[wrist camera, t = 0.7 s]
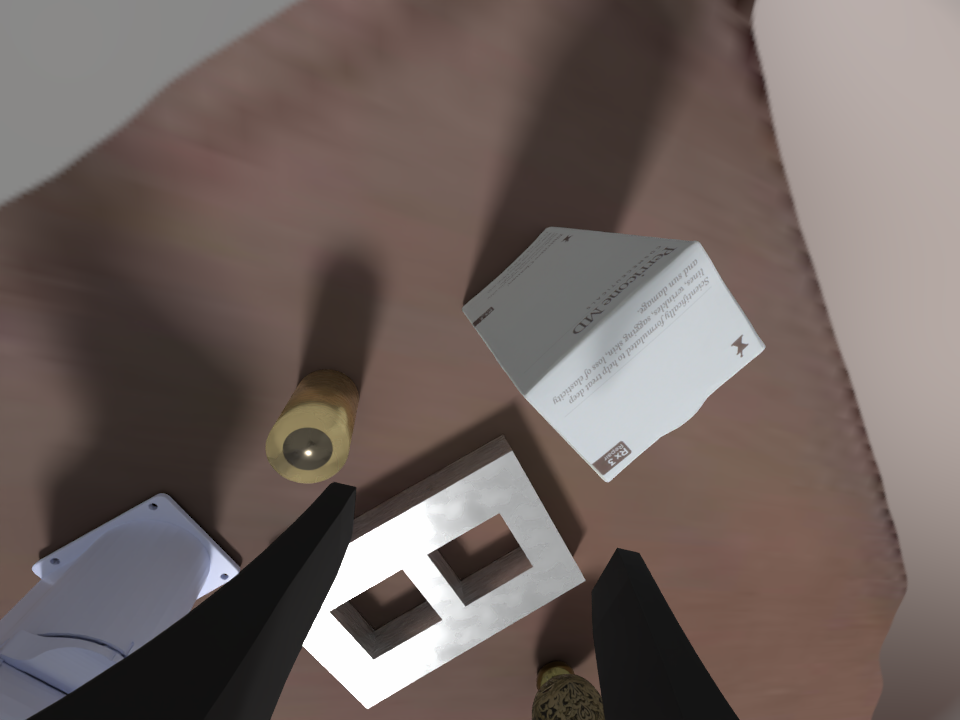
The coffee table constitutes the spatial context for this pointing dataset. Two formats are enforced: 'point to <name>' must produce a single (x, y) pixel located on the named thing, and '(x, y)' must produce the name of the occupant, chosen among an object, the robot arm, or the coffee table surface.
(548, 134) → the coffee table surface
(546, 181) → the coffee table surface
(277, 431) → the brass sleeve
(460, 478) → the jig plate
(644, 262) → the skincare box
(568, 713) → the cup
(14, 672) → the robot arm
